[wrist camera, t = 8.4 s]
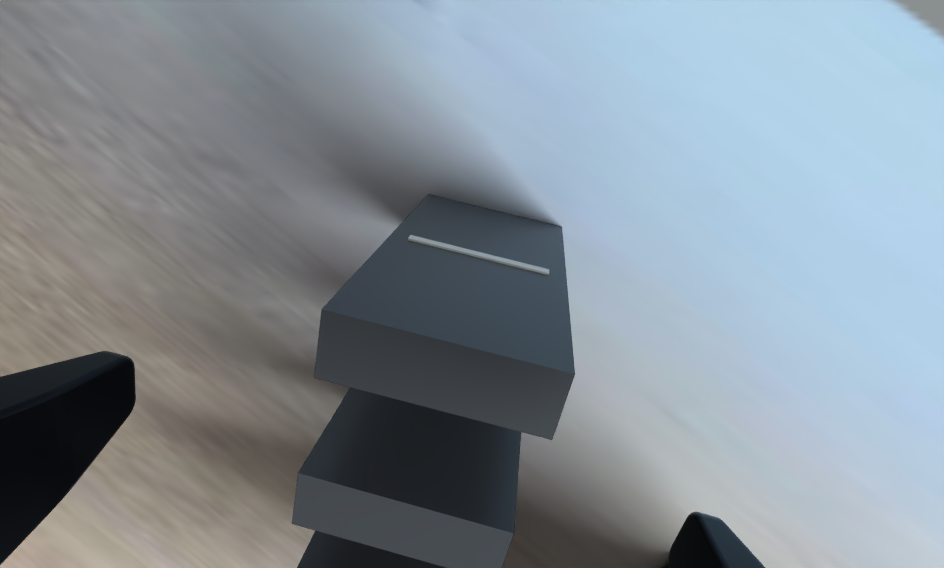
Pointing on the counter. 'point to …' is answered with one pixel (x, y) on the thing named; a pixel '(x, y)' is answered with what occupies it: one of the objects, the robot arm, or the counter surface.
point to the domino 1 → (458, 318)
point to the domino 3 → (353, 555)
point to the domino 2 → (412, 482)
